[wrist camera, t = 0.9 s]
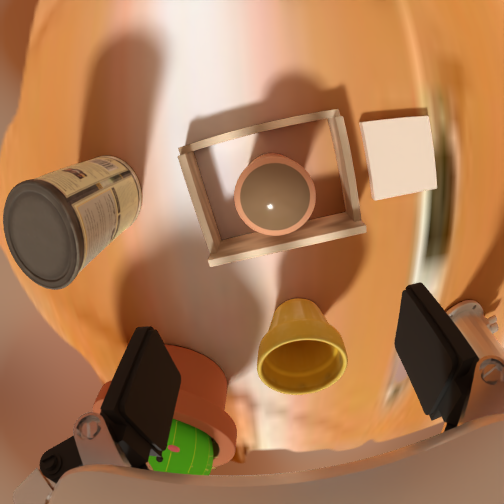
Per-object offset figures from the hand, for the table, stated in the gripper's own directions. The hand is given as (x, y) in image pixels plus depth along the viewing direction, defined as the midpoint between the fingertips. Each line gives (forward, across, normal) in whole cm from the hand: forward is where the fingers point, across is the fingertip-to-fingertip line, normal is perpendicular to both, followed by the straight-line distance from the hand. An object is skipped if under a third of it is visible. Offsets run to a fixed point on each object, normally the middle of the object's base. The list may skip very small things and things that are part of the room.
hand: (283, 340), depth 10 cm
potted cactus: (+23, +20, +29) cm, 42 cm away
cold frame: (+23, -1, -1) cm, 23 cm away
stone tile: (+23, -16, -2) cm, 28 cm away
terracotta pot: (+23, -1, -1) cm, 23 cm away
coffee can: (+24, +19, -3) cm, 31 cm away
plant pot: (+23, -1, +18) cm, 29 cm away
